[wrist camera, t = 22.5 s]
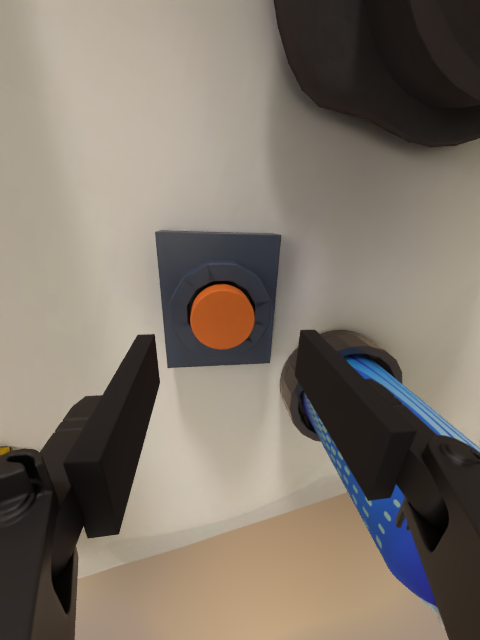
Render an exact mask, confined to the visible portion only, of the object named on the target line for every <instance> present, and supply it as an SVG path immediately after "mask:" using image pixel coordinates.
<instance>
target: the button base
mask: <svg viewBox="0 0 480 640" xmlns="http://www.w3.org/2000/svg"><path fill="white" fill-rule="evenodd" d="M155 235H156V246H157V256H158V267H159V278H160V289H161V300H162V311H163V322H164V333H165V344H166V355H167V366H168V368H175V367H197V366H218V365H239V364H260V363H270V355H271V344H272V333H273V321H274V310H275V298H276V287H277V276H278V264H279V253H280V241H281V235H278V234H268V233H231V232H195V231H157V232H155ZM215 284H228V285H232V286H234V287H236V288H238V289H240V290H241V291H242V292H243V293H244V294H245V295H246V297H247V298H248V300H249V302H250V304H251V306H252V308H253V310H254V315H255V322H254V327H253V329H252V332H251V333H250V335H249V336H248V338H247V339H246V340H245V341H244V342H242V343H241V344H239V345H238V346H235V347H233V348H229V349H214V348H211V347H208V346H206V345H204V344H203V343H201V342H200V341H199V340H198V339H197V338H196V336H195V335H194V333H193V331H192V328H191V323H190V317H191V310H192V305H193V302H194V300H195V298H196V297H197V295H198V294H199V293H200V292H201V291H202V290H204V289H205V288H207V287H209V286H212V285H215Z"/></svg>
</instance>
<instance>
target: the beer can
mask: <svg viewBox="0 0 480 640" xmlns="http://www.w3.org/2000/svg"><path fill="white" fill-rule="evenodd" d="M343 358H344V359H345V360H346V361H347V362H348V363H349V364H350V365H351V366H352V367H353V368H354V369H355V370H356V371H357V372H358V373H359V374H360V375H361V376H362V377H363V378H364V379H369V378H371V379H373V380H374V381H376V382H378V383H380V384H381V385H383V386H385V387H386V388H387V389H388V390H389V391H390V392H391V393H392V394H393V395H394V397H397V398H398V399H399V400H400V401H401V402H402V404H403V405H405V406H406V407H408V408H409V409H410V410H411V411H412V412H413V413H414V414H415V415H416V416H417V417H418V418H420V419H421V420H422V421H423V422H424V423H425V424H426V425H427V426H428V427H429V428H430V429H432V430H433V431H434V432H435V433H436V434H437V435H445V436H449V437H452V438H456V439H458V440H460V441H462V442H464V443H466V444H468V445H469V446H471V447H472V448H474V449H475V450H477V451H478V452H479V453H480V448H479V447H478V446H477V445H476V444H474V443H473V442H472V441H471V440H470V439H468V438H467V437H466V436H465V435H463V434H462V433H461V432H460V431H459V430H457V429H456V428H455V427H454V426H453V425H451V424H450V423H449V422H448V421H446V420H445V419H444V418H443V417H442V416H440V415H439V414H438V413H437V412H436V411H434V410H433V409H432V408H431V407H429V406H428V405H427V404H426V403H425V402H423V401H422V400H421V399H420V398H419V397H417V396H416V395H415V394H414V393H412V392H411V391H410V390H409V389H408V388H406V387H405V386H404V385H403V384H401V383H400V382H399V381H398V380H397V379H395V378H394V377H393V376H392V375H391V374H389V373H388V372H387V371H386V370H384V369H383V368H382V367H381V366H380V365H378V364H377V363H376V362H375V361H374V360H372V359H371V358H369V357H367V356H365V355H361V354H351V355H347V356H344V357H343ZM301 401H302V405H303V408H304V410H305V412H306V414H307V416H308V418H309V420H310V421H311V423H312V425H313V427H314V429H315V431H316V433H317V435H318V436H319V438H320V440H321V442H322V444H323V446H324V448H325V450H326V452H327V453H328V455H329V457H330V459H331V461H332V463H333V465H334V467H335V468H336V470H337V472H338V474H339V476H340V478H341V480H342V482H343V484H344V485H345V487H346V489H347V491H348V493H349V495H350V497H351V499H352V500H353V502H354V504H355V506H356V508H357V510H358V512H359V514H360V515H361V517H362V519H363V521H364V523H365V525H366V526H367V528H368V531H369V532H370V534H371V536H372V538H373V540H374V542H375V544H376V545H377V547H378V549H379V551H380V553H381V555H382V557H383V559H384V561H385V562H386V564H387V566H388V568H389V569H390V571H391V572H392V574H393V575H394V576H395V577H396V578H397V579H398V580H399V581H400V582H401V583H403V584H404V585H405V586H406V587H407V588H408V589H409V590H411V591H412V592H413V593H414V594H415V595H417V596H418V597H419V598H420V599H421V600H422V601H423V602H425V603H426V604H427V605H428V606H429V607H430V608H432V609H433V610H434V611H435V612H436V613H437V615H438V619H439V622H440V624H441V625H442V627H443V628H444V629H445V627H444V624H443V621H442V619H441V616H440V613H439V610H438V607H437V605H436V602H435V599H434V596H433V593H432V590H431V588H430V585H429V582H428V579H427V576H426V574H425V571H424V568H423V565H422V562H421V559H420V557H419V554H418V551H417V548H416V545H415V543H414V540H413V537H412V534H411V531H409V530H406V526H407V520H406V517H405V519H404V521H403V523H402V526H401V528H397V527H396V521H395V519H396V516H397V514H398V512H399V509H400V507H401V504H402V502H403V500H404V497H405V496H404V494H403V493H402V492H401V490H400V489H399V487H398V486H397V485H396V486H395V488H394V491H393V493H392V496H391V498H386V499H378V500H371V501H368V500H367V498H366V496H365V495H364V493H363V491H362V490H361V488H360V486H359V485H358V483H357V481H356V479H355V478H354V476H353V474H352V473H351V471H350V469H349V468H348V466H347V464H346V462H345V461H344V459H343V457H342V456H341V454H340V452H339V450H338V449H337V447H336V445H335V444H334V442H333V440H332V439H331V437H330V435H329V433H328V432H327V430H326V428H325V427H324V425H323V423H322V421H321V420H320V418H319V416H318V415H317V413H316V411H315V410H314V408H313V406H312V404H311V403H310V401H309V399H308V398H307V396H306V394H305V393H304V391H303V390H302V394H301Z"/></svg>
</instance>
